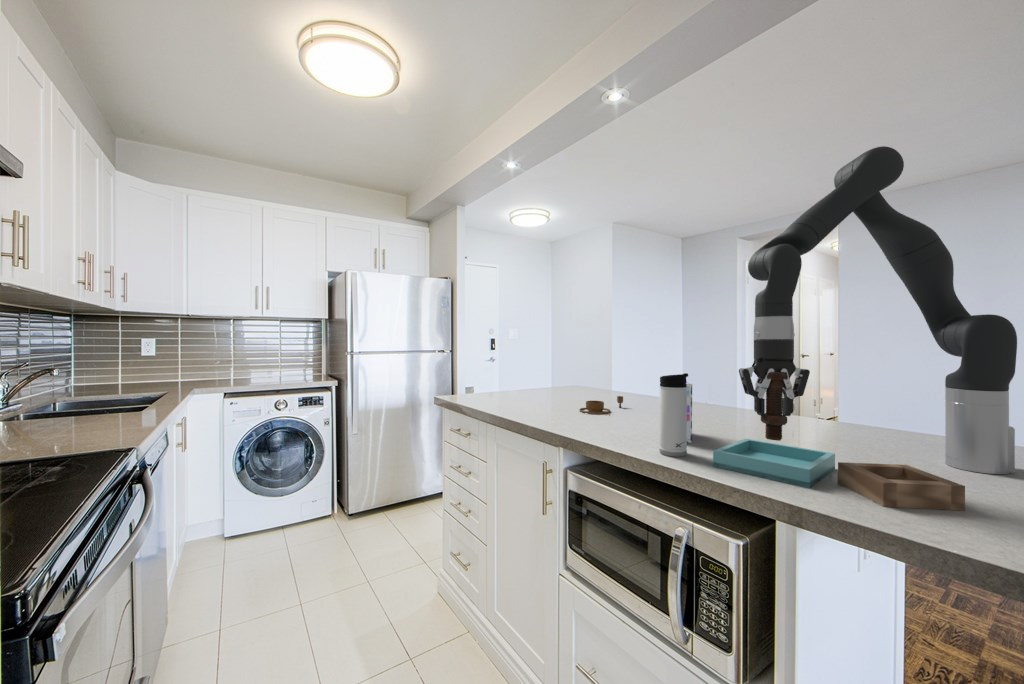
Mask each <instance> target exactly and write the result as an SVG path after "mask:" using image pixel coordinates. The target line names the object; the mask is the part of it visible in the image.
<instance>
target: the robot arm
mask: <svg viewBox="0 0 1024 684" xmlns="http://www.w3.org/2000/svg"><path fill="white" fill-rule="evenodd" d="M904 167H905V163H904V158H903V156H902V154H901V153H900V152H899V151H898V150H896V149H894V148H893V147H890V146H886V145H885V146H883V145H882V146H877V147H873V148H871V149H869V150H866V151H864V152H863V153H861V154H860V155H859V156H857V157H855V158H854V159H852V160H851V161H849V162H848V163H846V164H845V165H843V166H842V167H840V169H838V170H837V171H836V173H835V175H834V178H833V182H834V185H833V186H834V189H833V190H832V191H831V192H830V193H828V194H826V195H825V196H824V197H822V198H821V199H820V200H819V201H817V202H816V203H815V204H813V205H812V206H811V207H809V208H808V209H807V210H806V211H805V212H803V213H802V214H801V215H800V216H799V217H797V218H796V219H795V220H794V221H793V222H792V223H791V224H790V225H789V226H788V227H787V228H786V229H785V230H784V231H783V232H780V234H779V235H777V236H776V237H773V238H772V239H771V240H770V241H768V242H767V243H765V244H764V245H763V246H761V247H759V249H757V250H756V251H755V252H754V253H753V254H752V256H751V257H750V259H749V261H748V263H747V269H748V273H749V275H750V276H751V278H753V279H754V280H756V281H762V282H764V281H765V282H766V281H767V282H766V286H765V288H764V289H763V290H761V291H760V292H758V293H757V294H756V295H755V299H754V325H753V362H752V365H751V366H749V367H746V368H739V369H738V374H739V377H740V381H741V384H742V387H743V391H744V393H745V394H746V395H750V396H752V397H753V400H754V401H753V403H754V405H753V407H754V412H755V413H756V415H758V416H760V417H761V416H764V415H765V413H766V412H765V411H766V398H764V397H765V395H766V390H767V388H768V386H769V384H770V381H771V379H767V375H768V373H770V372H787V376H788V372H789V375H790V379H789V376H788V379H783V391H782V392H783V394H782V395H783V397H782V398H783V399H782V401H783V403H782V404H783V405H782V407H783V408H782V410H783V411H782V415H785V416H786V417H791V414H793V413H794V399H795V398H798V397H802V396H804V394H805V390H806V387H807V384H808V380H809V376H810V370H809V369H807V368H799V367H796V365H795V363H794V359H795V335H796V334H795V325H794V324H795V323H794V319H793V318H794V314H793V313H794V312H793V309H794V307H793V301H794V300H793V298H794V295H795V292H796V289H797V286H798V281H799V277H800V273H801V270H802V265H803V264H802V257H801V256H802V255H805V254H808V253H810V252H812V250H813V249H815V247H817V246H818V245H819V244H821V242H822V241H823V240H825V238H826V237H827V236H829V234H830V233H832V232H833V230H834V229H836V228H837V227H838V226H839V225H840V224H842V222H843V221H844V220H845V219H847V217H848V216H850V215H851V214H852V213H853V214H854V215H855V216H856V217H857V218H858V220H860V222H861V223H862V224H863V226H864V227H865V228H866V230H867V231H868V233H869V234H870V235H871V237H872V238H873V239H874V241H875V243H876V244H877V245H878V247H879V249H880V250H881V251H882V253H883V255H884V256H885V259H886V260H887V261H888V262H889V264H890V266H891V268H892V269H893V270H894V272H895V274H896V275H897V276H898V277H899V279H900V280H901V281H902V283H903V285H904V286H905V288H906V289H907V291H908V293H909V294H910V296H911V297H912V299H913V300H914V302H915V303H916V305H917V307H918V308H919V310H920V312H921V314H922V317H923V318H924V320H925V322H926V323H927V324H926V325H927V327H928V329H929V331H930V332H931V334H932V337H933V339H934V340H935V342H936V344H937V345H938V347H940V349H941V351H942V350H943V352H945V353H946V354H948V355H951V356H954V357H959V358H961V361H960V366H959V368H957V370H955V371H953V372H952V373H948V374H946V376H945V378H944V379H945V380H944V382H945V383H944V385H945V386H944V388H945V389H944V390H945V391H944V392H945V394H944V395H945V396H944V399H945V402H944V405H945V414H944V415H945V418H944V419H945V420H944V423H945V427H944V429H945V438H944V439H945V443H944V445H945V446H944V447H945V450H944V451H945V452H944V453H945V454H944V455H945V462H944V463H945V464H946V465H947V466H949V467H951V468H952V467H953V468H955V469H960V470H963V471H969V472H975V473H981V474H991V475H1007V474H1015V470H1016V469H1015V468H1016V467H1015V466H1016V462H1015V461H1016V459H1015V458H1016V455H1015V454H1016V446H1015V445H1016V441H1015V440H1016V432H1015V431H1016V428H1014V427H1013V426H1010V391H1009V390H1010V383H1011V382H1012V380H1013V379H1014V377H1015V374H1016V363H1017V353H1018V334H1017V330H1016V328H1015V326H1014V324H1013V323H1012V322H1011V321H1010V320H1009V319H1007V318H1006V317H1004V316H1003V315H998V314H990V313H989V314H976V315H975V314H974V315H971V314H970V313H969V311H968V310H967V309H966V307H964V305H963V304H962V302H961V300H960V299H959V297H958V295H957V294H956V291H955V288H954V287H955V286H954V276H955V275H954V271H955V270H954V269H955V268H954V260H953V257H952V254H951V252H950V251H949V250H948V247H947V246H946V245H945V244H944V242H943V240H942V239H941V237H940V236H939V234H938V233H937V232H936V231H935V230H934V229H932V228H931V227H929V226H928V225H927V224H925V223H923V222H920V221H918V220H916V219H915V218H912V217H909V216H907V215H906V214H904V213H901V212H900V211H898V210H896V209H894V207H893V206H891V205H890V204H889V203H888V202H887V200H886V199H885V197H884V196H883V194H881V191H883V190H884V189H886V188H889V187H890V186H891V185H893V184H894V183H895V182H896V181H897V180H898V179H899V178H900V176H901V175H902V173H903V171H904ZM765 372H767V373H766V374H765ZM753 373H754V374H755V375H756V377H757V379H756V382H755V387H754V385H753V381H752V377H753ZM793 374H794V378H795V379H794V382H793V384H792V382H791V377H792V376H793Z"/></svg>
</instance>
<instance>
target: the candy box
mask: <svg viewBox="0 0 1024 684" xmlns="http://www.w3.org/2000/svg"><path fill="white" fill-rule="evenodd" d="M686 385H687V389H686V390H687V444H692V443H693V383H689V382H687V383H686Z"/></svg>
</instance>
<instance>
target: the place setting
mask: <svg viewBox="0 0 1024 684" xmlns="http://www.w3.org/2000/svg"><path fill="white" fill-rule="evenodd" d="M616 401H617V403H618V404H619V405H618V408H619V409H621V408H622V404H623V402H624V396H623V395H622V396H621V395H619V396H618V395H617V396H616ZM585 409H587V411H586V410H585ZM579 412H580V413H581V412H582V414H585V413H588V414H587V415H609V416H611V414H610V413H611V409H610V408H605V402H604V401H602V400H586V401H585V407H581V408H579Z"/></svg>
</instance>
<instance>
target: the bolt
mask: <svg viewBox="0 0 1024 684" xmlns="http://www.w3.org/2000/svg"><path fill="white" fill-rule="evenodd" d="M766 373H767V372H765V374H766ZM788 376H789V379H790V380H791V377H790V375H789V372H788ZM788 376H787V372H770V373H768V375H767V379H771V381H770V384H769V386H768V388H767V389H766V391H765V415H764V416H760V421H761V423H763V424H765V431H764V433H765V438H766V439H767V440H770V441H778V442H779V441H781V440H782V439H783V426H786V424H788V416H785V415H783V414H782V411H783V410H782V408H783V407H782V405H783V404H782V403H783V401H782V399H783V398H784V396H783V392H782V391H783V379H788Z"/></svg>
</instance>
